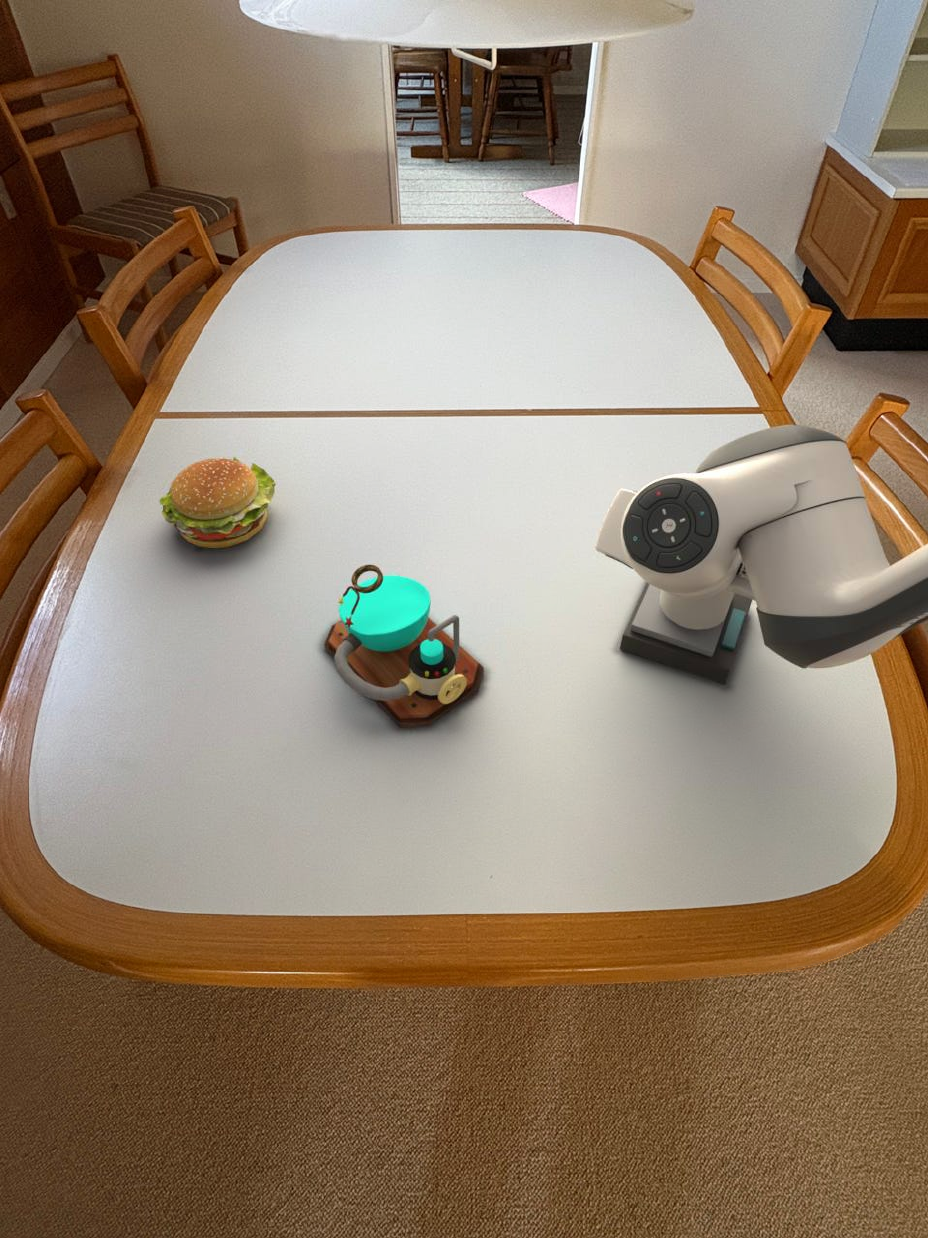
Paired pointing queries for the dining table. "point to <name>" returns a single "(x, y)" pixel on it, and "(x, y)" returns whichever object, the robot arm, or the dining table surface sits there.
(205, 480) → the food
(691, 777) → the dining table surface
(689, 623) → the can
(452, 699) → the contraption on wooden base
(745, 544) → the robot arm
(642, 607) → the scale
